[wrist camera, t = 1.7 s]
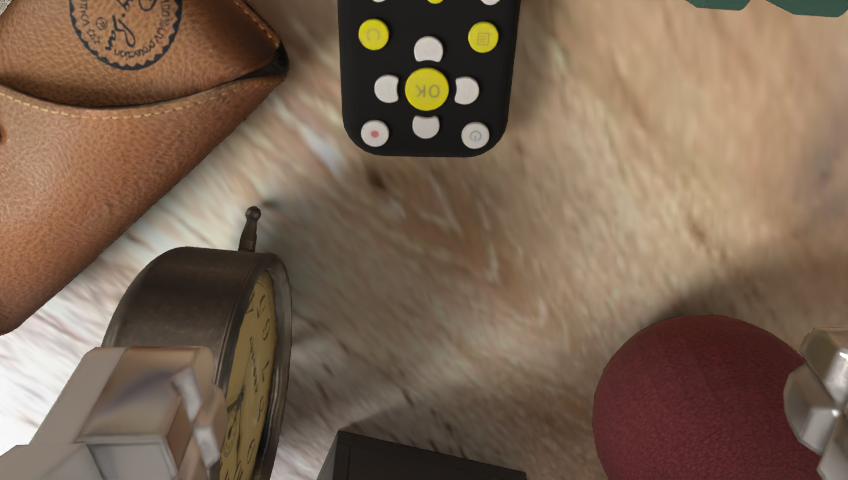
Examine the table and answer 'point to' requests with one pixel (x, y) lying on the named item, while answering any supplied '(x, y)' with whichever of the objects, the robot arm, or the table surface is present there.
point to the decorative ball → (699, 405)
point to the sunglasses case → (111, 122)
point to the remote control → (426, 74)
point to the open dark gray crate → (401, 463)
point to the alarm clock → (222, 336)
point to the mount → (783, 6)
